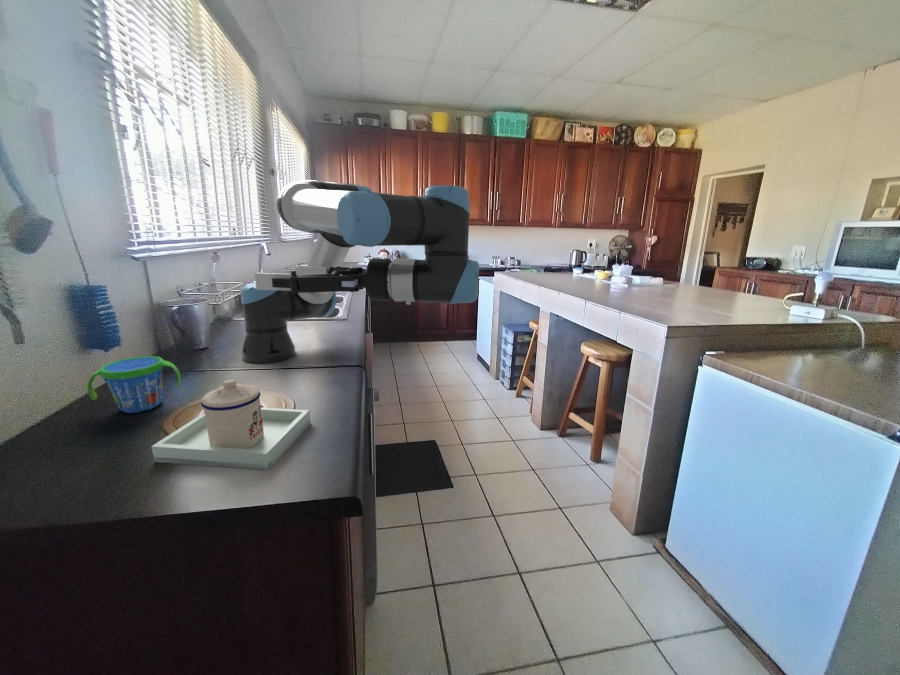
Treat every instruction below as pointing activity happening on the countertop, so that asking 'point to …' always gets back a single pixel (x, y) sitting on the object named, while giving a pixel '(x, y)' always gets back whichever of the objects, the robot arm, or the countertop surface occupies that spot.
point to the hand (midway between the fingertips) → (278, 276)
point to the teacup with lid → (233, 416)
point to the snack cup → (134, 382)
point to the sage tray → (196, 450)
